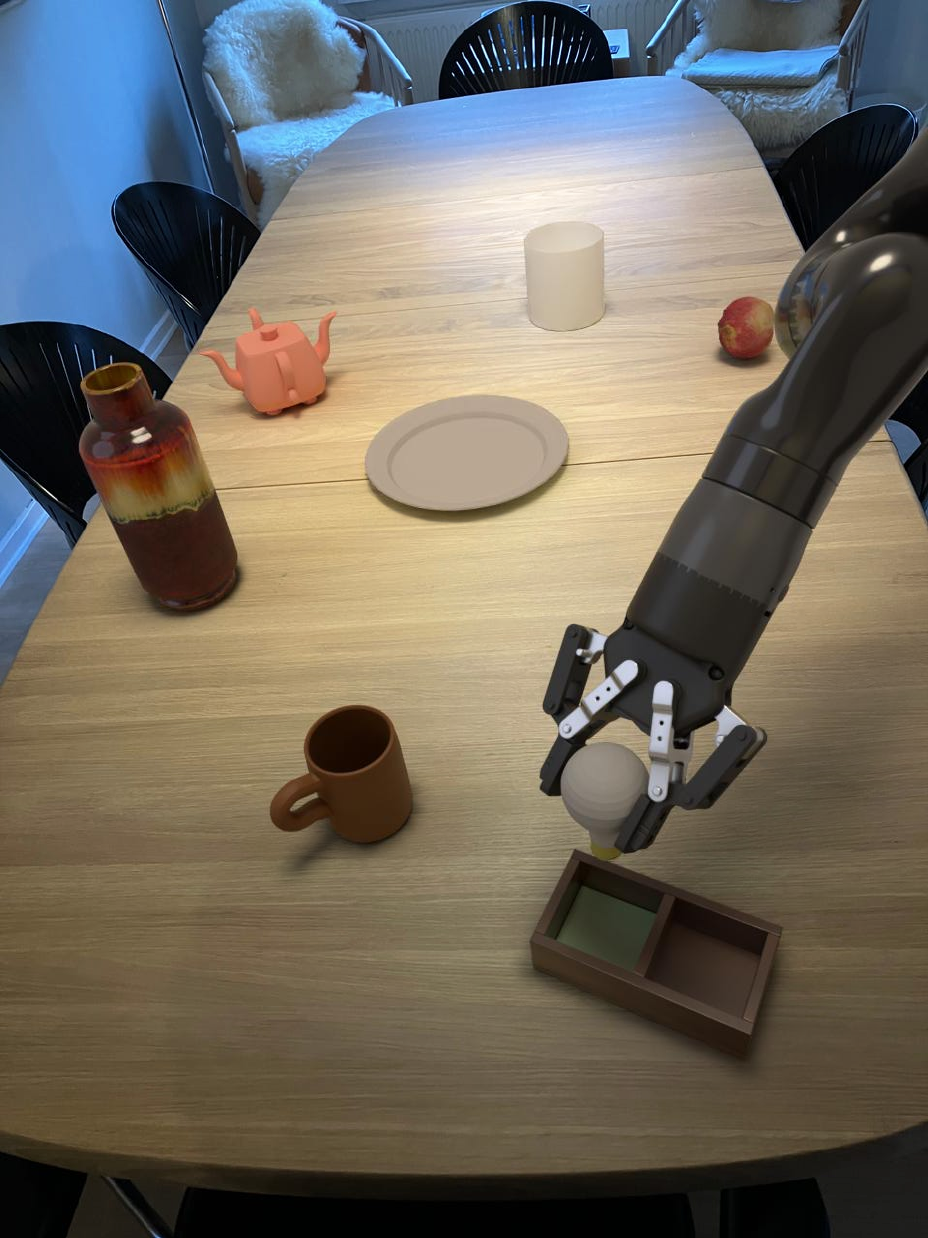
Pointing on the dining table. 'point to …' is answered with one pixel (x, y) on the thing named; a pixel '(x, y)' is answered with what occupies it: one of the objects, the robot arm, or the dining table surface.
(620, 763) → the light bulb
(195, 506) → the vase
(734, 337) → the fruit
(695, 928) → the tray
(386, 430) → the plate
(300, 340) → the teapot
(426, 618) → the dining table surface
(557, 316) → the cup
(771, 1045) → the dining table surface
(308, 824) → the mug
